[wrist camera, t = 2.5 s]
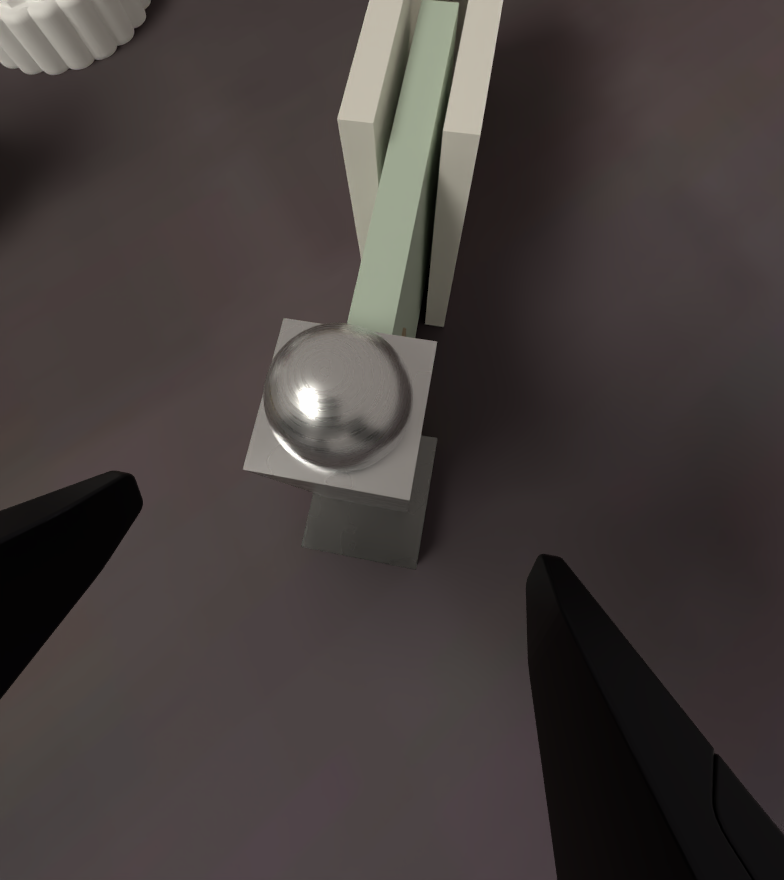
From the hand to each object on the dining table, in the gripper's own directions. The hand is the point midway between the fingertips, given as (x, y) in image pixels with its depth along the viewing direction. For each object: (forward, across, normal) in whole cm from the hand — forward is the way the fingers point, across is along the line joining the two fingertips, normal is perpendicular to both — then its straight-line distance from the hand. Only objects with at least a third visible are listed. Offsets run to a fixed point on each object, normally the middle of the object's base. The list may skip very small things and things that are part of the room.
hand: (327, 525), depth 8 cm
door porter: (+8, 0, +6) cm, 10 cm away
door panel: (+14, 0, 0) cm, 14 cm away
